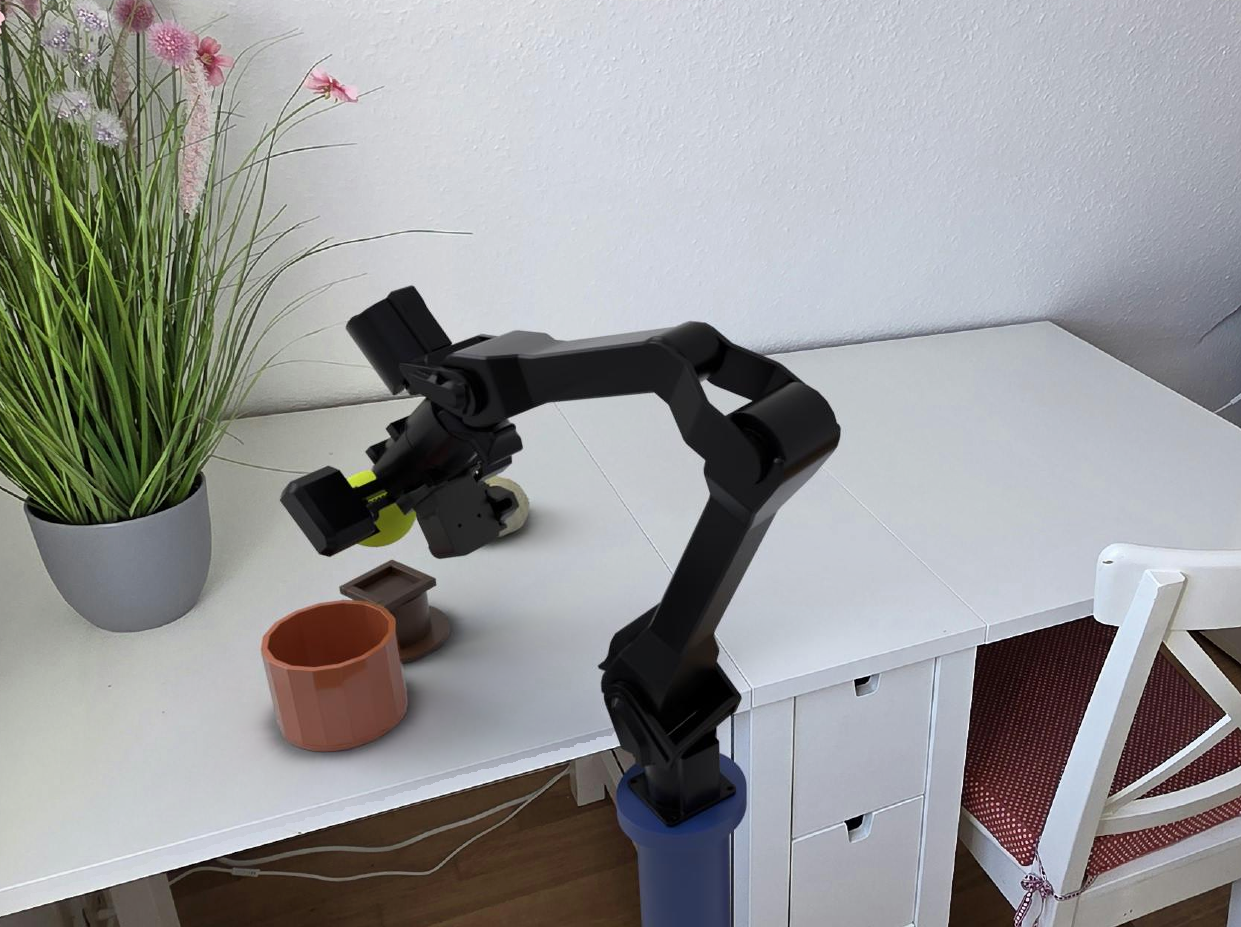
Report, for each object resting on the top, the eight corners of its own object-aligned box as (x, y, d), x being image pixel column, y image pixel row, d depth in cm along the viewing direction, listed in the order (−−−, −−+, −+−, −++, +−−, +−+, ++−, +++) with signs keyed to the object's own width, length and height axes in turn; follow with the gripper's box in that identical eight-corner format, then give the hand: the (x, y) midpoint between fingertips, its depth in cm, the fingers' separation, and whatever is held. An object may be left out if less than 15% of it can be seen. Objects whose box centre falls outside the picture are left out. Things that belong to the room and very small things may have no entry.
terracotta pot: (427, 719, 101) (414, 640, 98) (305, 768, 95) (286, 686, 91) (380, 663, 107) (367, 587, 103) (262, 707, 101) (243, 627, 97)
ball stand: (471, 628, 113) (464, 575, 110) (390, 678, 106) (380, 622, 103) (402, 597, 116) (394, 545, 113) (319, 643, 109) (308, 589, 106)
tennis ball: (434, 545, 106) (424, 478, 103) (356, 570, 102) (343, 500, 99) (403, 515, 110) (392, 449, 107) (326, 537, 106) (313, 470, 103)
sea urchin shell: (455, 542, 122) (431, 468, 123) (444, 564, 128) (422, 494, 129) (545, 520, 127) (521, 449, 128) (531, 542, 133) (509, 474, 134)
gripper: (405, 572, 89) (327, 645, 99) (586, 475, 104) (502, 547, 114) (314, 446, 89) (243, 532, 98) (509, 367, 104) (431, 448, 113)
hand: (365, 517), depth 106 cm, fingers closed on tennis ball, 6 cm apart
